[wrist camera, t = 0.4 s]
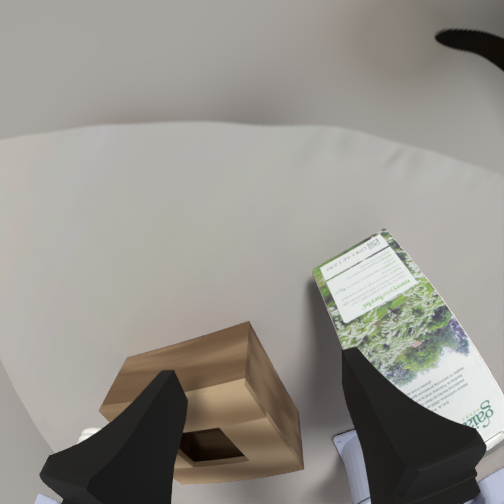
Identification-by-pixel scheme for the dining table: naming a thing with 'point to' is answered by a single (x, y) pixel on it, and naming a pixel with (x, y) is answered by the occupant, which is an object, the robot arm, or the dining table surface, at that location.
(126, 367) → the box
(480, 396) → the syrup box
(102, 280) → the dining table surface
